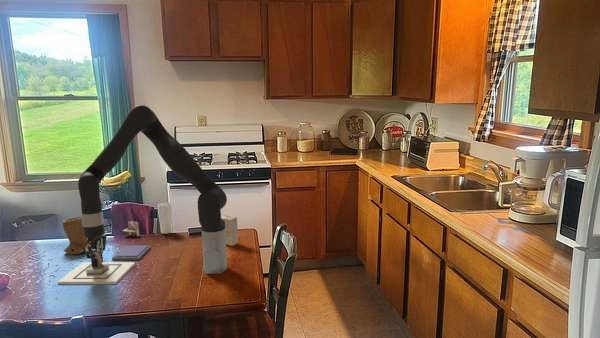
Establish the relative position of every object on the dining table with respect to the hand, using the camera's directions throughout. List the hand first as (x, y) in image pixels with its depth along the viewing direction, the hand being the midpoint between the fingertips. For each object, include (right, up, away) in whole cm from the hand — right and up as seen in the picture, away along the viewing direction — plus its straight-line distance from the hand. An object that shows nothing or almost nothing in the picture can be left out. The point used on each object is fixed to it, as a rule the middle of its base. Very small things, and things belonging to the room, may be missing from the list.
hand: (97, 264), depth 166 cm
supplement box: (+46, +2, +32) cm, 57 cm away
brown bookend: (-22, +1, +27) cm, 34 cm away
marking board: (0, -4, +1) cm, 4 cm away
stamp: (0, -3, 0) cm, 3 cm away
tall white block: (+12, +5, +49) cm, 50 cm away
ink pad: (+5, 0, +21) cm, 21 cm away
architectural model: (-4, +4, +44) cm, 45 cm away
